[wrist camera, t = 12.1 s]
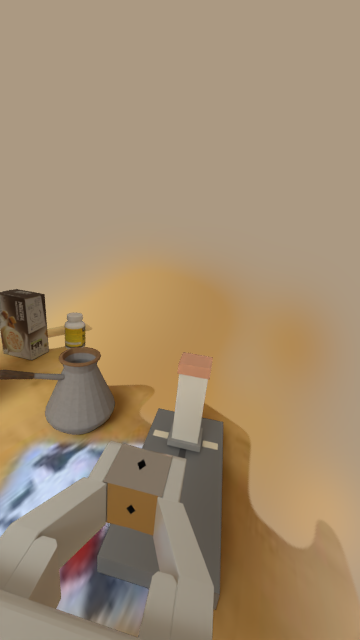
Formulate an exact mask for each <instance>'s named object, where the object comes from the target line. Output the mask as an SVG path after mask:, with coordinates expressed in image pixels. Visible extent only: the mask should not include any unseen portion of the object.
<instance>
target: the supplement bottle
mask: <svg viewBox="0 0 360 640" xmlns="http://www.w3.org/2000/svg"><path fill="white" fill-rule="evenodd" d="M82 316H83V315H82V314H80V313H69V314H68V315H67V320H68V321H67V322H66V323H65V347H66V348H67V349H70V348H75V347H85V323H84V322H83V321H82V319H83V317H82Z"/></svg>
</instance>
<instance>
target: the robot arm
mask: <svg viewBox="0 0 360 640" xmlns="http://www.w3.org/2000/svg"><path fill="white" fill-rule="evenodd" d="M186 460H187V459H185V458H181V457H176V456H173V455H168V454H164V453H159V452H155V451H151V450H145V449H141V448H138V447H134V446H130V445H127V444H122V443H118V442H115V441H110V442H109V443H108V445H107V446H106V448H105V450H104V451H103V453H102V455H101V456H100V458H99V460H98V461H97V463H96V465H95V466H94V468H93V470H92V472H91V473H90V475H89V477H88V478H85V477H83V478H82V479H80V480H79V481H77V482H76V483H74V484H72V485H71V486H69V487H68V488H66V489H65V490H63V491H61V492H60V493H58V494H57V495H55V496H54V497H52V498H50V499H49V500H47V501H46V502H44V503H43V504H41V505H40V506H38V507H36V508H35V509H33V510H32V511H30V512H29V513H27V514H25V515H24V516H22V517H21V518H19V519H18V520H16V521H14V522H13V523H11V524H10V526H9V527H8V528H7V530H6V531H5V532H4V533H3V535H2V536H1V537H0V640H212V628H213V600H214V586H213V583H212V580H211V578H210V575H209V572H208V569H207V567H206V564H205V561H204V559H203V556H202V553H201V551H200V548H199V545H198V543H197V540H196V537H195V535H194V532H193V529H192V526H191V524H190V521H189V518H188V516H187V513H186V510H185V508H184V505H183V504H182V503H180V499H181V492H182V486H183V480H184V473H185V467H186ZM106 522H107V523H111V524H115V525H119V526H123V527H127V528H131V529H134V530H137V531H140V532H143V533H146V534H149V535H152V536H153V539H154V545H155V550H156V555H157V560H158V565H159V570H160V572H159V571H158V572H156V573H155V574H154V575H153V576H152V580H151V584H150V588H149V593H148V597H147V601H146V606H145V610H144V614H143V618H142V623H141V627H140V631H139V635H138V638H137V637H135V636H132V635H129V634H126V633H123V632H120V631H117V630H115V629H112V628H109V627H106V626H103V625H100V624H98V623H95V622H92V621H89V620H86V619H83V618H80V617H78V616H75V615H72V614H69V613H66V612H63V611H60V610H58V609H56V608H57V606H58V603H59V601H60V599H61V590H60V576H59V569H60V568H61V567H62V566H63V565H64V564H65V563H66V562H67V561H68V560H69V559H70V558H71V557H72V556H73V555H74V554H75V553H76V552H77V551H78V550H79V549H80V548H82V547H83V546H84V545H85V544H86V543H87V542H88V541H89V540H90V539H91V538H92V537H93V536H94V535H95V534H96V533H97V532H98V531H99V530H100V529H101V528H102V527H103V526H104V525H105V524H106Z"/></svg>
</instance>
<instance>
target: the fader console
mask: <svg viewBox="0 0 360 640" xmlns="http://www.w3.org/2000/svg"><path fill="white" fill-rule="evenodd" d="M174 414H175V412H173V411H168V410H164V409H158V411H157V414H156V416H155V419H154V421H153V423H152V426H151V428H150V431H149V433H148V436H147V438H146V440H145V443H144V445H143V448H142V449H145V450H151V451H155V452H159V453H164V454H168V455H173V456H176V457H181V458H185V459H187V460H186V467H185V473H184V480H183V486H182V492H181V499H180V503H182V504H183V505H184V508H185V510H186V513H187V516H188V518H189V521H190V524H191V526H192V529H193V532H194V535H195V537H196V540H197V543H198V545H199V548H200V551H201V553H202V556H203V559H204V561H205V564H206V567H207V569H208V572H209V575H210V578H211V580H212V583H213V586H214V600H213V609H215V610H216V607H217V603H218V599H219V595H220V559H221V510H222V461H223V422H220V421H216V420H211V419H206V418H202V419H201V425H200V428H203V431H202V439H201V446H200V452H196V451H191V450H187V449H183V448H179V447H174V446H170V445H167V442H168V437H169V434H170V431H171V427H172V424H173V422H174ZM158 571H159V572H160V570H159V565H158V560H157V555H156V550H155V545H154V539H153V536H152V535H149V534H146V533H143V532H140V531H137V530H134V529H131V528H127V527H123V526H119V525H115V524H110V527H109V529H108V532H107V534H106V536H105V539H104V541H103V544H102V546H101V549H100V551H99V553H98V556H97V572H100V573H103V574H106V575H109V576H112V577H115V578H118V579H121V580H125V581H128V582H131V583H134V584H137V585H140V586H143V587H146V588H150V584H151V580H152V576H153V575H154V574H155V573H156V572H158Z"/></svg>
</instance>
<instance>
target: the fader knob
mask: <svg viewBox="0 0 360 640" xmlns="http://www.w3.org/2000/svg"><path fill="white" fill-rule="evenodd" d="M211 366H212V357H207V356H202V355H196V354H191V353H185V352H183V354H182V357H181V359H180V362H179V366H178V374H179V381H178V389H177V398H176V406H175V414H174V422H173V424H172V427H171V431H170V434H169V437H168V442H167V445H170V446H174V447H179V448H183V449H187V450H191V451H196V452H200V446H201V439H202V431H203V428H200V425H201V419H202V413H203V406H204V400H205V394H206V388H207V381H208V379H210V373H211Z"/></svg>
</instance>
